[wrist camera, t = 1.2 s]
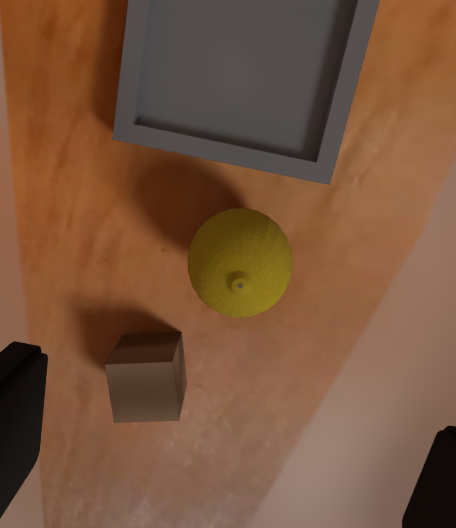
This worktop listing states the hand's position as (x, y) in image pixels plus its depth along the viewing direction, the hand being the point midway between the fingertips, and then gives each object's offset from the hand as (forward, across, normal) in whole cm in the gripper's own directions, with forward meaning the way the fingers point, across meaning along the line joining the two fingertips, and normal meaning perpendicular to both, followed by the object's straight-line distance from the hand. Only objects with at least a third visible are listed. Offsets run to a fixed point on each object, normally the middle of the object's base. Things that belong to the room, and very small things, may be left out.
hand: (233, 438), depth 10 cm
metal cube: (+17, +4, +8) cm, 20 cm away
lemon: (+17, 0, -1) cm, 17 cm away
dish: (+17, +2, -12) cm, 21 cm away
